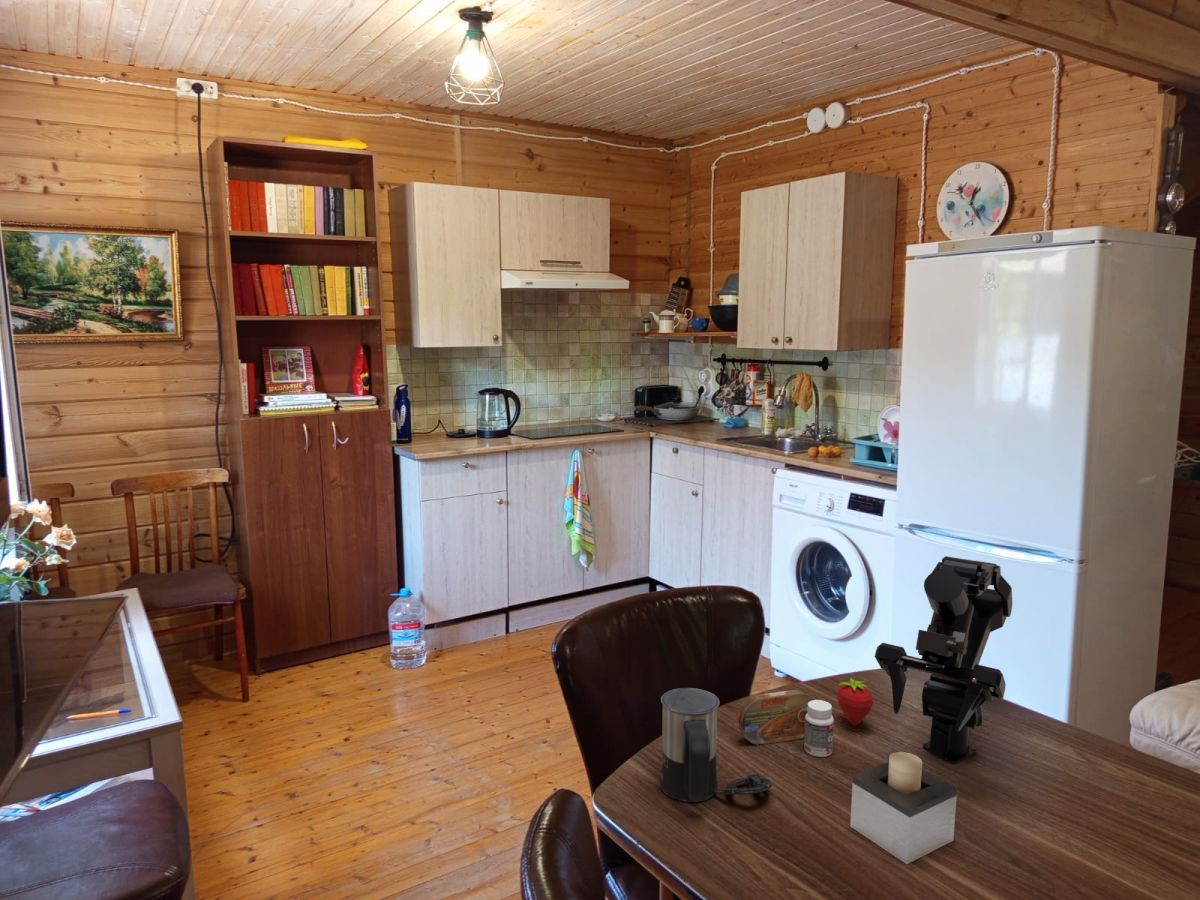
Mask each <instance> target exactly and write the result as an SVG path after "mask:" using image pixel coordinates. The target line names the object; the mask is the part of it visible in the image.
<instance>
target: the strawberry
mask: <svg viewBox="0 0 1200 900" xmlns="http://www.w3.org/2000/svg"><path fill="white" fill-rule="evenodd" d="M850 675H851V677H850V678H849V681H848V682H845V681H841V682H839V683H838V685H839V686H838V688H837V691H836V698H837V702H838V705H839V708H840V709H841V711H842V712H843V715H844V716H845V717H846V719H847V720H848V721H849V723H850V724H851V725H852V726H854V727H855V726H858V725H859V724H860V723H861V722H862V721H863V720H865V719H866V717H867V716H868V714H869V713H870V712H871V711H872V707H873V705H874V700H873V695H872V693H871V691H869V689H868V688H869V687H870V686H869V685H866V684H864V683H867V681H866V680H865V681H863V680H862V681H860V680H859V681H858V680H856V678H855V676H854V675H853V674H852V673H850ZM852 677H853V678H852Z"/></svg>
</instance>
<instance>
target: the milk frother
mask: <svg viewBox="0 0 1200 900" xmlns="http://www.w3.org/2000/svg"><path fill="white" fill-rule="evenodd" d="M660 702H661V705H662V728H661V729H662V731H661V732H662V734H661V735H662V755H661V756H662V763H661V765H662V767H661V768H662V769H661V778H660V783H659V785H660V788H661V791H662V792H663V793H664V794H665V795H667V796H668V797H670V798H671V799H675V800H677V801H680V802H688V803H691V802H692V803H693V802H694V803H697V802H705V801H707V800H710V799H711V798H713V797H714V796H715V795H716V794H720V795H721V794H722V795H738V796H739V795H742V796H743V795H744V796H745V795H755V794H758V793H761V792H762V793H763V792H765V791H768V790H769V789H771V788H772V785H773V784H772V780H770V779H769V778H766V777H762V776H761V777H760V775H759V773H751V774H748V775H747V777H742V778H737V779H733V780H732V781H729V782H728V783H727V784H726V787H725V788H719V782H718V781H717V738H718V707H719V706H720V700H719V698H718V697H717V695H715V693H713V692H710V691H707V690H705V689H700V688H693V687H681V688H680V687H679V688H674V689H671V690H670V689H669V690H668V691H666V692H664V694H662V696H661V697H660ZM744 784H748V787H738V786H740V785H744Z"/></svg>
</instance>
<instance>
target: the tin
mask: <svg viewBox="0 0 1200 900" xmlns="http://www.w3.org/2000/svg"><path fill="white" fill-rule="evenodd" d="M812 700H815V699H814V697H812V696H810V695H809V694H807V693H806V692H804V691H802V690H799V689H790V690H781V691H775V692H768V693H759V694H754V695H751V696H749V697H747V698H746V699H745V700H744V701H743V702H742V703H741V704H740V705H739V708H738V710H737V714H736V723H737V724H736V725H737V728H738V730H739V731H740V733H741V734H742V735H743V737H744V738H745V740H747V741H748V742H749V743H751V744H753V745H759V744H764V745H769V743H770V744H775V743H776V742H777V743H782V742H788V741H796V740H802V739H805V716H806V714H807V713H808V711H807V708H808V703H809V702H810V701H812Z"/></svg>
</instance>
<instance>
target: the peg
mask: <svg viewBox="0 0 1200 900" xmlns="http://www.w3.org/2000/svg"><path fill="white" fill-rule="evenodd" d="M888 758H889V760H888V762H889V772H888V785H889V786H890V787H892V788H894V789H896V790H897V791H899V792H901V793H902V794H904V795H906V796H909V795H911V794H913V793H916V792H918V791H920V788H921V773H922V770H923V761H922V759H921V758H920V757H918V755H916V754H913V753H909V752H906V751H905V752H904V751H897V752H892V753H891V754H889V757H888Z"/></svg>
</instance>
